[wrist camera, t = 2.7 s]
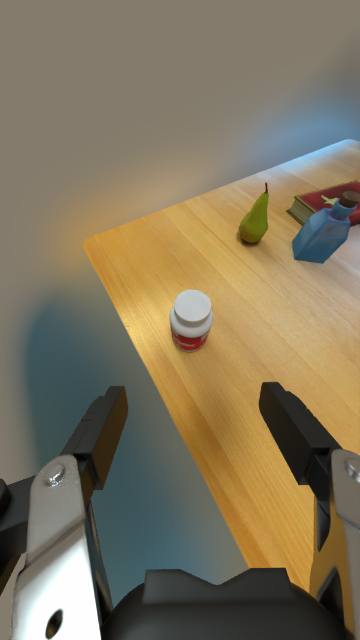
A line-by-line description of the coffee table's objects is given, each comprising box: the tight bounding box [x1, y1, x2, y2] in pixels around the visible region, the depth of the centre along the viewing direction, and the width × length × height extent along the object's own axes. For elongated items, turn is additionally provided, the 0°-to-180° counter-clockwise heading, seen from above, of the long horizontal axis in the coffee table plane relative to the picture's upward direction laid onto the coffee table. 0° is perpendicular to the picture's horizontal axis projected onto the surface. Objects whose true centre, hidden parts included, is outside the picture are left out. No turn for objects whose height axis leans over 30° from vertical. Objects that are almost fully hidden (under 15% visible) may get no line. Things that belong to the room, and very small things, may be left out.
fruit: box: [239, 182, 269, 243], centre depth 37 cm, size 6×6×12 cm
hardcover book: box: [286, 180, 360, 226], centre depth 44 cm, size 12×21×4 cm, turn 111°
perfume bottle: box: [293, 191, 360, 263], centre depth 35 cm, size 6×6×12 cm
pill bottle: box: [170, 290, 213, 352], centre depth 26 cm, size 6×6×11 cm
